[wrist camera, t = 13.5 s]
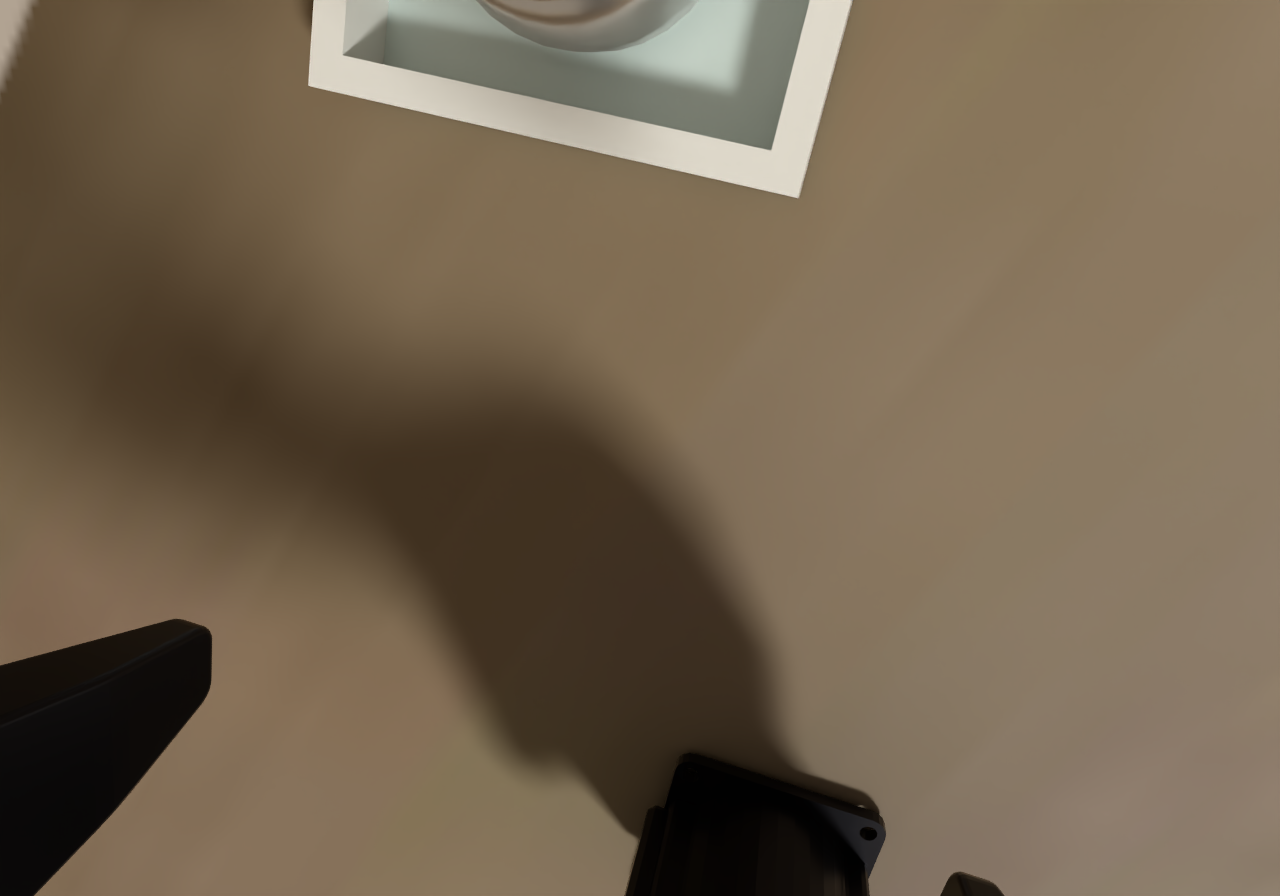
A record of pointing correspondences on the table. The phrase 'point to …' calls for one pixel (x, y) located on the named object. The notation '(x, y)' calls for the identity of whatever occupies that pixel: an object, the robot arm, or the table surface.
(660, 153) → the tray
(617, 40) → the plastic bottle
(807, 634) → the table surface
